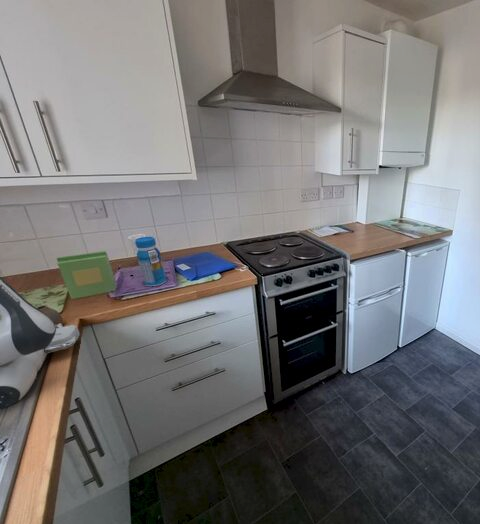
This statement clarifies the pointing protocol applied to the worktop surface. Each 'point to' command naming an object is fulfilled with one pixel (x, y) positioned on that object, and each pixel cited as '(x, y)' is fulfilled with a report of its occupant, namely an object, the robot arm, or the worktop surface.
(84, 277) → the green square panel
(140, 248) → the beverage bottle
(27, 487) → the worktop surface
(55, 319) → the brown rounded lump
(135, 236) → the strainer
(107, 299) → the worktop surface
